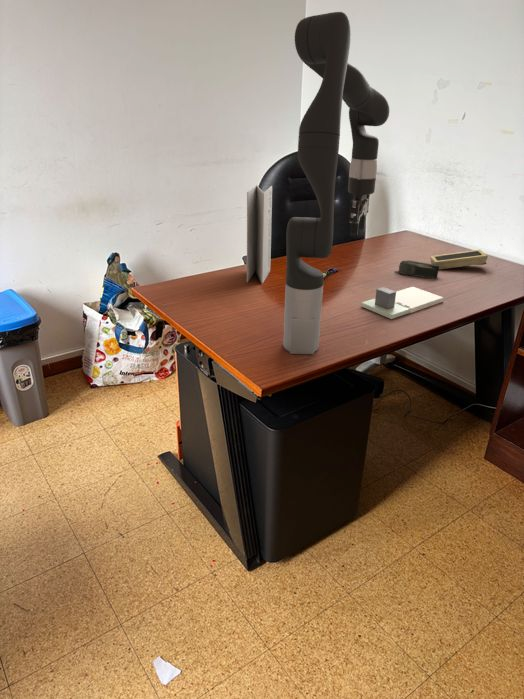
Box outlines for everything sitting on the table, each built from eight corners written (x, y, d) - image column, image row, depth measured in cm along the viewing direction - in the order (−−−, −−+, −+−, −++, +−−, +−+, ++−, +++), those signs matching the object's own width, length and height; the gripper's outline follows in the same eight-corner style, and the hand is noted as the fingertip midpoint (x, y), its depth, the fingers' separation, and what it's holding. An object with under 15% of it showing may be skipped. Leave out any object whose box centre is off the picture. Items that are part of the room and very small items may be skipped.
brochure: (262, 283, 179) (264, 193, 165) (246, 282, 180) (246, 192, 166) (270, 270, 191) (272, 185, 178) (255, 269, 192) (256, 185, 179)
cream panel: (412, 290, 175) (412, 286, 174) (442, 301, 167) (443, 297, 166) (379, 301, 166) (380, 296, 166) (410, 313, 158) (410, 308, 157)
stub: (378, 300, 166) (380, 281, 163) (409, 312, 157) (412, 293, 155) (361, 306, 162) (363, 286, 159) (391, 319, 153) (394, 298, 150)
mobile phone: (439, 264, 187) (397, 258, 191) (439, 266, 184) (396, 260, 188) (437, 277, 189) (394, 271, 193) (436, 279, 186) (393, 273, 191)
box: (488, 267, 194) (488, 254, 192) (426, 276, 196) (425, 263, 194) (480, 261, 202) (480, 248, 199) (420, 269, 204) (420, 257, 201)
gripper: (355, 171, 155) (350, 226, 163) (343, 178, 144) (338, 236, 151) (380, 173, 153) (374, 228, 160) (370, 180, 141) (364, 239, 148)
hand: (356, 232), depth 155 cm, fingers open, 8 cm apart
